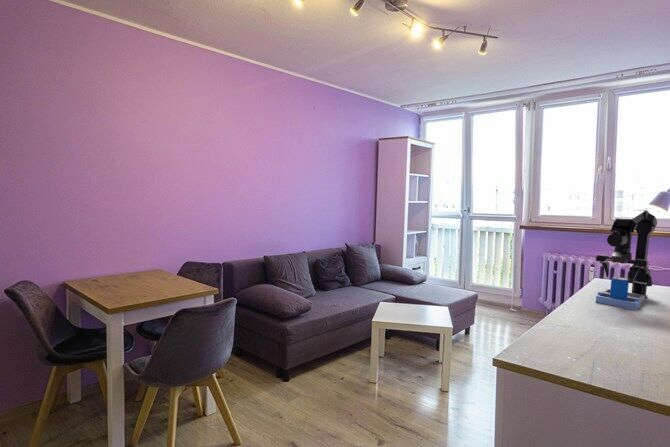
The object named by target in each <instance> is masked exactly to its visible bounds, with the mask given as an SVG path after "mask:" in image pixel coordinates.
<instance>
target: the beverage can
mask: <svg viewBox="0 0 670 447" xmlns="http://www.w3.org/2000/svg"><path fill="white" fill-rule="evenodd" d="M629 285H630V283H629V282H628V278H626V277H621V276H612V278H611V280H610V288H609V289H610V298H613V299H619V300H624V301H627V295H628V292H629Z"/></svg>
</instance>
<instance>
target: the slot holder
mask: <svg viewBox="0 0 670 447" xmlns="http://www.w3.org/2000/svg"><path fill="white" fill-rule="evenodd" d="M645 299H646V298H645V295H641V294H635V293H632V292H629V291H628V295H627V301H624V300H619V299H613V298H610V288H606V289H604V290H603V291H598V292H597V295H595V303H598V302H599V303H598V304H603V303H604V304H603V305H608V304H609V305H608V306H613V305H614V306H615V307H620V308H623V309H624V308H625V309H629V310H635V311H636V310H638V309H639V307H641V305H642V304H643V303H644V302H645Z"/></svg>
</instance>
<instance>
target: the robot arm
mask: <svg viewBox="0 0 670 447" xmlns="http://www.w3.org/2000/svg"><path fill="white" fill-rule="evenodd" d="M657 225H658V220H657V218H656V216H655V215H653V214H652V213H649V210H646V209H634V210H633V212H631V213H629V214H628V215H626V216H619V217H616V219H614V221H613V222H612V226H611V229H610V231H609V232H611V233H610V234H609V235H608V237H607V238H606V241H607V242H606V243H607V244H608V245H609V246H611V247H614V251H613V252H612V255H611V256H609V254H603V253H600V254H598V255H596V256H595V261H596V262H598V263H599V264H601V265H602V267H603V269H604V271H605V275H606V278H609V276H610V262H612V263H614V264H615V263H618V264H630V265H631V264H632V266H629V269H628V272H627V279H628V282H629V284H632V285H631V293H635V294H641V295H645V298H644V299H647V298H648V297H647V296H648V295H647V288H648V287H653V278H652V275H651V273H650V272H651V270H650V269H649V262H650V261H649V260H648V255H649V254H648V253H649V245H650V237H651V235H652V234H653V232H654V231H656V227H657ZM634 232H636V233H637V240H636V248H635V255H634V256H635V257H634V259H632V258H633V255H632V254H633V253H631V250H632V249H631V248H632V239H633V233H634Z"/></svg>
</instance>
